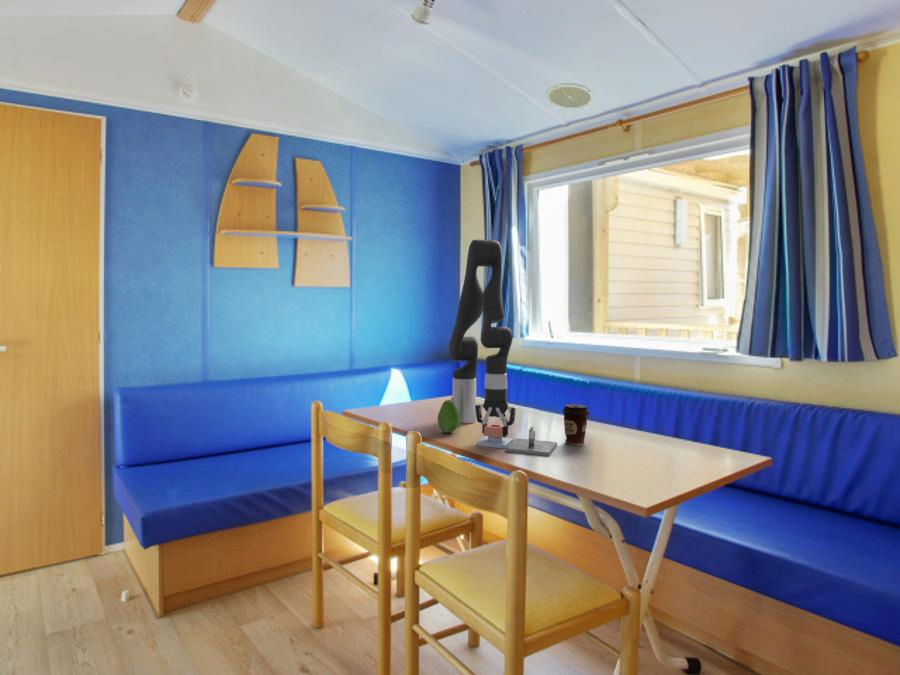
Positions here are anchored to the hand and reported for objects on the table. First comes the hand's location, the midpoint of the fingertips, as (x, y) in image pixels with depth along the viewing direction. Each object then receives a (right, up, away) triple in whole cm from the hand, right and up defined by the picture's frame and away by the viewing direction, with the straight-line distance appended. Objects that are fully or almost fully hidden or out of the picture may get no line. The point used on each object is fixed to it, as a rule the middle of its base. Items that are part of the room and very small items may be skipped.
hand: (495, 435), depth 206 cm
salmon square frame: (0, 0, 0) cm, 0 cm away
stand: (0, -3, 0) cm, 3 cm away
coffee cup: (+27, -3, +1) cm, 27 cm away
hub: (+11, -3, -6) cm, 13 cm away
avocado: (-16, -1, +16) cm, 22 cm away
